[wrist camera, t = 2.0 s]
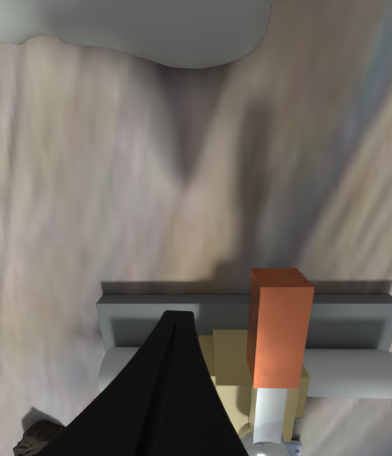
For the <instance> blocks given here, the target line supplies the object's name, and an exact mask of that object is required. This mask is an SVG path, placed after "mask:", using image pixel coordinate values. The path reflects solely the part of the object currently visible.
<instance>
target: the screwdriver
mask: <svg viewBox="0 0 392 456" xmlns="http://www.w3.org/2000/svg"><path fill="white" fill-rule="evenodd" d="M271 6H272V0H0V41H1V42H2V43H5V44H15V45H21V44H23V43H24V42H25V41H27V40H28V39H30V38H32V37H35V36H38V35H42V36H53V37H56V38H59V39H60V40H62V41H63V42H65V43H66V44H70V45H80V46H95V47H104V48H110V49H114V50H118V51H121V52H125V53H128V54H132V55H135V56H138V57H142V58H145V59H149V60H151V61H154V62H157V63H160V64H162V65H165V66H168V67H174V68H195V69H203V68H208V67H213V66H219V65H223V64H226V63H229V62H232V61H235V60H238V59H241V58H242V57H244V56H246V55H247V54H249V53H250V52H251V51H252V50H253V48H254V47H255V46H256V45H257V43H258V42H259V41H260V40H261V38H262V37H263V36H264V35H265V32H266V29H267V25H268V21H269V17H270V12H271Z"/></svg>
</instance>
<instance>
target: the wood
mask: <svg viewBox="0 0 392 456" xmlns="http://www.w3.org/2000/svg"><path fill="white" fill-rule="evenodd" d="M63 429H64V427H62V426H58V425H56V424H54V423H51V422H46V421H41V422H37V423H35V424H34V425H32V426H31V427H30V428H29V430H27V431H26V432H25V433H24V434H23V438H22V440H21V441H20V442H18V444H17V446H15V447H14V448H13V452H14V455H15V456H34V455H35V454H36V453H37V452H38V451H40V450H41V449H42V448H43V447H44V446H45V445H46V444H47V443H49V442H50V441H51V440H52V439H53V438H54V437H55V436H56V435H58V434H59V433H60V432H61V431H62V430H63Z"/></svg>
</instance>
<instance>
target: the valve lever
mask: <svg viewBox="0 0 392 456" xmlns="http://www.w3.org/2000/svg"><path fill="white" fill-rule="evenodd" d="M314 288H315V287H314V286H313V285H312V284H311V283H310V282H309V281H308V280H307V279H306V278H305V277H304V276H303V275H302V274H301V272H300V271H299V270H298V269H297V268H251V282H250V299H249V317H248V334H247V352H246V359H247V363H248V368H249V372H250V376H251V381H252V389H251V403H250V417H249V423H246V424H245V425H243V426H242V427H241V428H240V430H239V432H238V436H239V438H240V439H241V441H242V443H243V445H244V447H245V449H246V451H247V453H248V455H249V456H289V453H288V450H287V447H286V443H285V440H284V437H283V433H282V426H283V419H284V412H285V404H286V397H287V390H288V389H298V388H299V382H300V375H301V369H302V363H303V357H304V350H305V344H306V338H307V332H308V326H309V319H310V313H311V307H312V301H313V295H314Z"/></svg>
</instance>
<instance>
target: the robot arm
mask: <svg viewBox="0 0 392 456" xmlns="http://www.w3.org/2000/svg"><path fill="white" fill-rule="evenodd" d="M285 443H286V447H287V450H288V453H289V456H301V452H302V445H301V442H300V441H296V440H291V442H285ZM34 456H249V455H248V453H247V451H246V449H245V447H244V445H243V443H242V441H241V439H240V438H239V436H238V434H237V432H236V430H235V428H234V426H233V424H232V422H231V420H230V418H229V416H228V414H227V412H226V410H225V408H224V406H223V404H222V402H221V399H220V397H219V395H218V393H217V390H216V388H215V386H214V383H213V381H212V378H211V376H210V373H209V370H208V368H207V365H206V362H205V360H204V357H203V354H202V350H201V347H200V344H199V340H198V336H197V332H196V328H195V321H194V313H193V312H192V311H177V310H166V311H164V313H163V314H162V316H161V318H160V319H159V321H158V323H157V324H156V326H155V327H154V329H153V330H152V331H151V333H150V334H149V336H148V337H147V338H146V340H145V341H144V343H143V344H142V345H141V347H140V348H139V349H138V351H137V352H136V353H135V354H134V355H133V357H132V358H131V359H130V360H129V362H128V363H127V364H126V365H125V367H124V368H123V369H122V370H121V371H120V372H119V374H118V375H117V376H116V377H115V378H114V379H113V380H112V381H111V382H110V384H109V385H108V386H107V387H106V388H105V389H104V390H103V391H102V392H101V393H100V394H99V395H98V396H97V397H96V398H95V399H94V400H93V401H92V402H91V403H90V404H89V405H88V406H87V407H86V408H85V409H84V410H83V411H82V412H81V413H80V414H79V415H78V416H77V417H76V418H75V419H74V420H73V421H72V422H71V423H70V424H69V425H68V426H66V427H65V428H64V429H63V430H62V431H61V432H60V433H59V434H58V435H56V436H55V437H54V438H53V439H52V440H51V441H50V442H49V443H47V444H46V445H45V446H44V447H43V448H42V449H41V450H40V451H38V452H37V453H36V454H35V455H34Z"/></svg>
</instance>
